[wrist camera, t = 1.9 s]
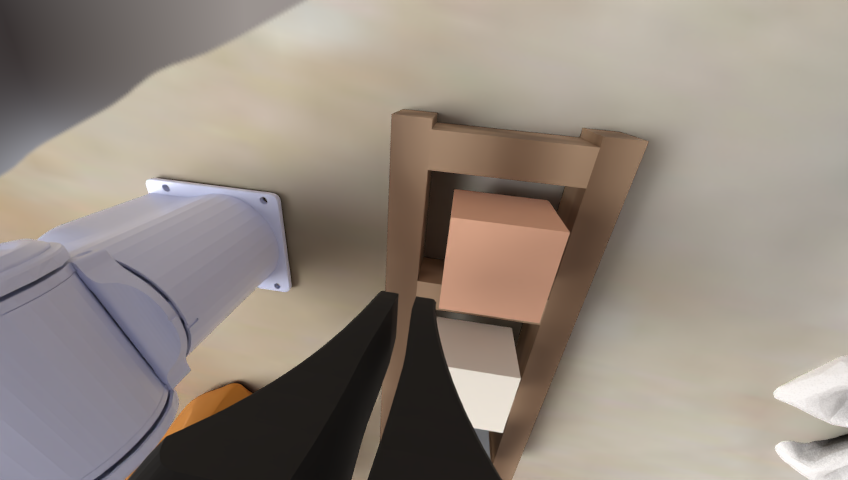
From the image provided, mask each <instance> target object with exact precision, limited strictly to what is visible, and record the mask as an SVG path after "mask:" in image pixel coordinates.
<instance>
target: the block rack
mask: <svg viewBox="0 0 848 480" xmlns="http://www.w3.org/2000/svg"><path fill="white" fill-rule="evenodd" d="M437 115H438V113H434V112H425V111H415V110H405V109H402V110H400V111H398V112H395V113H393V114H392V119H391V147H390V175H389V203H388V231H387V259H386V287H385V291H386V292H392V293H399V298H398V315H397V332H396V339H395V344H394V348H393V352H392V356H391V360H390V364H389V366H388V369H387V372H386V375H385V377H384V380H383V383H382V400H381V428H380V441H381V438H382V435H383V431H384V428H385V425H386V422H387V419H388V416H389V412H390V409H391V406H392V402H393V399H394V395H395V392H396V389H397V385H398V382H399V378H400V375H401V371H402V368H403V364H404V359H405V354H406V346H407V339H408V332H409V325H410V318H411V311H412V307H413V304H414V301H415V298H416V296H418V297H424V298H430V299H434V300H435V301H436V310H442V311H449V312H455V313H462V314H469V315H475V316H482V317H489V318H496V319H502V320H509V321H516V322H522V323H523V326H522V329H521V332H520V336H519V339H518V342H517V345H516V354H517V360H518V365H519V371H520V377H521V380H520V383H519V386H518V389H517V392H516V395H515V398H514V401H513V404H512V407H511V410H510V412H509V415H508V418H507V421H506V424H505V427H504V430H503V433H500V432H494V431H489V446H490V460H491V462H492V463H493V465H494V467H495V469H496V470H497V472H498V474H499V475H500V477H501V479H502V480H512V478H513V475H514V473H515V470H516V468H517V466H518V463H519V461H520V458H521V456H522V453H523V451H524V448H525V446H526V443H527V441H528V438H529V436H530V433H531V431H532V429H533V426H534V424H535V421H536V419H537V416H538V414H539V411H540V409H541V406H542V404H543V401H544V399H545V396H546V394H547V391H548V389H549V387H550V384H551V382H552V379H553V377H554V374H555V372H556V369H557V367H558V364H559V362H560V359H561V357H562V354H563V352H564V349H565V347H566V345H567V342H568V340H569V337H570V335H571V332H572V330H573V327H574V325H575V322H576V320H577V317H578V315H579V312H580V310H581V308H582V305H583V303H584V300H585V298H586V295H587V293H588V290H589V288H590V285H591V283H592V280H593V278H594V275H595V273H596V270H597V268H598V266H599V263H600V261H601V258H602V256H603V253H604V251H605V248H606V246H607V243H608V241H609V238H610V236H611V233H612V231H613V229H614V226H615V224H616V221H617V219H618V216H619V214H620V211H621V209H622V206H623V204H624V201H625V199H626V196H627V194H628V191H629V189H630V187H631V184H632V182H633V179H634V177H635V174H636V172H637V169H638V167H639V164H640V162H641V159H642V157H643V154H644V152H645V150H646V147H647V145H648V142H649V141H646V140H643V139H640V138H637V137H634V136H631V135H628V134H625V133H622V132H616V131H606V130H596V129H587V128H583V129H582V132H581V135H580V137H570V136H561V135H552V134H542V133H533V132H524V131H514V130H505V129H495V128H486V127H477V126H467V125H458V124H449V123H439V122H437ZM432 170H433V171H442V172H450V173H459V174H467V175H476V176H484V177H493V178H501V179H510V180H518V181H527V182H535V183H544V184H552V185H561V186H565V188H564V191H563V194H562V198H561V201H560V204H559V207H558V211H557V214H558V216H559V217H560V219H561V220H562V222H563V223H564V224H565V226H566V227H567V229H568V230H569V232H570V234H569V237H568V240H567V243H566V246H565V249H564V252H563V255H562V258H561V261H560V264H559V267H558V270H557V273H556V276H555V279H554V282H553V285H552V287H551V290H550V293H549V296H548V299H547V302H546V305H545V308H544V311H543V314H542V317H541V320H540V323H533V322H527V321H520V320H513V319H506V318H500V317H493V316H486V315H479V314H473V313H466V312H459V311H452V310H446V309H439V302H440V294H441V286H442V278H443V270H444V262H445V260H441V259H434V258H426V257H424V247H425V237H426V227H427V216H428V206H429V196H430V186H431V176H432Z"/></svg>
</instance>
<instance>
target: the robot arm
mask: <svg viewBox="0 0 848 480" xmlns="http://www.w3.org/2000/svg"><path fill="white" fill-rule="evenodd" d="M146 186H147V189H148V192H149V194H147V195H144V196H141V197H138V198H135V199H132V200H130V201H127V202H124V203H121V204H118V205H115V206H113V207H110V208H107V209H104V210H101V211H98V212H96V213H93V214H90V215H87V216H84V217H81V218H79V219H76V220H73V221H70V222H67V223H64V224H62V225H59V226H57V227H55V228H53V229H51V230H50V231H48V232H46V233H45V234H44V235H42V236H41V237H40V238H39V239H37V240H35V239H20V240H14V241H9V242H4V243H0V480H125V479H126V478H127V477H128V476H129V475H130V474H131V473H132V472H134V473H133V474H132V475H131V476H130V477H129V478H128V480H351V479H352V475H353V471H354V468H355V464H356V460H357V457H358V453H359V449H360V446H361V442H362V439H363V435H364V432H365V429H366V426H367V423H368V421H369V418H370V415H371V413H372V410H373V407H374V404H375V402H376V399H377V396H378V394H379V391H380V388H381V386H382V383H383V380H384V377H385V375H386V372H387V369H388V366H389V364H390V360H391V356H392V352H393V348H394V344H395V339H396V332H397V315H398V298H399V293H392V292H386V291H381V292H380V293H378V294H377V296H376V297H375V298H374V299H373V300H372V301H371V302H370V303H369V304H368V305H367V306H366V308H365V309H364V310H363V311H362V312H361V313H360V314H359V315H358V316H357V317H355V318H354V319H353V320H352V321H351V322H350V323H349V324H348V325H347V326H346V327H345V328H344V329H343V330H342V331H341V332H339V333H338V334H337V335H336V336H335V337H334V338H332V339H331V340H330V341H329V342H328V343H326V344H325V345H324V346H323V347H322V348H320V349H319V350H318V351H317V352H315V353H314V354H313V355H311V356H310V357H309V358H307V359H306V360H304V361H303V362H302V363H300V364H299V365H298V366H296V367H295V368H293V369H292V370H290V371H289V372H287V373H286V374H284V375H282V376H281V377H279V378H278V379H276V380H275V381H273V382H272V383H270V384H268V385H267V386H265V387H263V388H262V389H260V390H258V391H256V392H255V393H253V394H251V395H249V396H247V397H246V398H244V399H242V400H240V401H238V402H237V403H235V404H233V405H231V406H229V407H227V408H225V409H224V410H222V411H220V412H218V413H216V414H214V415H211V416H209V417H207V418H205V419H203V420H201V421H199V422H196V423H194V424H192V425H190V426H188V427H186V428H184V429H182V430H179V431H177V432H175V433H173V434H170V435H168V436H166V437H165V438H164V439H163V440H162V441H161V439H162V438H163V436H164V435H165V434H166V432H167V430H168V429H169V427H170V425H171V424H172V422H173V420H174V418H175V415H176V413H177V409H178V405H179V398H178V395H177V392H176V391H175V389H174V387H175V386H176V385H177V384H178V383H179V382H180V381H181V380H182V379H183V378H184V377H185V376H186V375H187V374H188V373H189V372H190V370H191V369H190V367H189V365H188V364H187V361H186V357H187V356H188V355H189V354H190V353H191V352H192V351H193V350H194V349H195V348H196V347H197V346H198V345H199V344H200V343H201V342H202V341H203V340H204V339H205V338H206V337H207V336H208V335H209V334H210V333H211V332H212V331H213V330H214V329H215V328H216V327H217V326H218V325H219V324H220V323H221V322H222V321H223V320H225V319H226V318H227V317H228V316H229V315H230V314H231V313H232V312H233V311H234V310H235V309H236V308H237V307H238V306H239V305H240V304H241V303H242V302H243V301H244V300H245V299H246V298H247V297H248V296H249V295H250V294H251V293H252V292H253V291H254V290H255V289H256V288H262V289H269V290H275V291H282V292H288V291H289V290H290V289H291V287H292V283H291V275H290V268H289V260H288V253H287V245H286V238H285V230H284V223H283V215H282V208H281V201H280V198H279V196H278V195H276V194H275V193H270V192H262V191H254V190H246V189H238V188H231V187H223V186H215V185H207V184H199V183H191V182H184V181H176V180H168V179H160V178H151V179H148V180H147V181H146ZM168 187H169V188H170V189H169V188H168ZM263 197H265V198H266V199H267V202H265V201H264V199H263ZM278 284H279V285H280V286H279V285H278ZM160 441H161V442H160ZM159 442H160V444H159V445H158V443H159ZM157 445H158V446H157ZM156 446H157V447H156ZM368 480H502V479H501V477H500V475H499V474H498V472H497V470H496V469H495V467H494V465H493V463H492V462H491V460H490V458H489V456H488V454H487V453H486V451H485V449H484V447H483V445H482V443H481V441H480V440H479V438H478V436H477V434H476V432H475V430H474V428H473V426H472V424H471V422H470V420H469V418H468V416H467V414H466V411H465V409H464V407H463V404H462V402H461V400H460V398H459V395H458V393H457V390H456V388H455V385H454V383H453V380H452V377H451V374H450V371H449V368H448V365H447V362H446V359H445V356H444V352H443V348H442V344H441V340H440V336H439V331H438V326H437V319H436V301H435V300H434V299H430V298H424V297H418V296H416V298H415V301H414V304H413V307H412V311H411V318H410V325H409V332H408V339H407V346H406V354H405V359H404V364H403V368H402V371H401V375H400V378H399V382H398V385H397V389H396V392H395V395H394V399H393V402H392V406H391V409H390V412H389V416H388V419H387V422H386V425H385V428H384V431H383V435H382V438H381V441H380V444H379V447H378V450H377V453H376V456H375V459H374V462H373V465H372V468H371V471H370V474H369V477H368Z"/></svg>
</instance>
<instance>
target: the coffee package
mask: <svg viewBox="0 0 848 480" xmlns="http://www.w3.org/2000/svg"><path fill="white" fill-rule="evenodd" d="M251 394H253V393H252V392H250V391H248V390H247V389H246V388H245V387H243V386H242V385H241V384H237V383H231V384H228V385H226V386H224V387H222V388H218V389H215V390H213V391H210V392H207V393H204V394H203V395H200V396H198V397H197V398H195V399H194V400H192V401H191V402H190V403H189V404H188V405H187V406H186V407H185V408H184V409H183V411H182V412H181V413H180V414H179V416H178V417H177V418H176V419H175V421H174V422H173V424H172V425H171V426H170V427H169V429H168V430H167V432H166V434H165V435H164V436H163V438H162V439H161V441H162V440H163V439H164V438H165V437H166V436H168V435H170V434H173V433H175V432H177V431H179V430H182V429H184V428H186V427H188V426H190V425H192V424H194V423H196V422H199V421H201V420H203V419H205V418H207V417H209V416H211V415H214V414H216V413H218V412H220V411H222V410H224V409H225V408H227V407H229V406H231V405H233V404H235V403H237V402H238V401H240V400H242V399H244V398H246V397H247V396H249V395H251ZM161 441H160V442H161ZM160 442H159V443H158V445H159V444H160ZM158 445H157V446H158ZM157 446H156V447H157ZM133 473H134V472H132V473H131V474H130V475H129V476H128V477H127V478H126V479H125V480H128V478H129V477H130V476H131V475H132V474H133Z"/></svg>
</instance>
